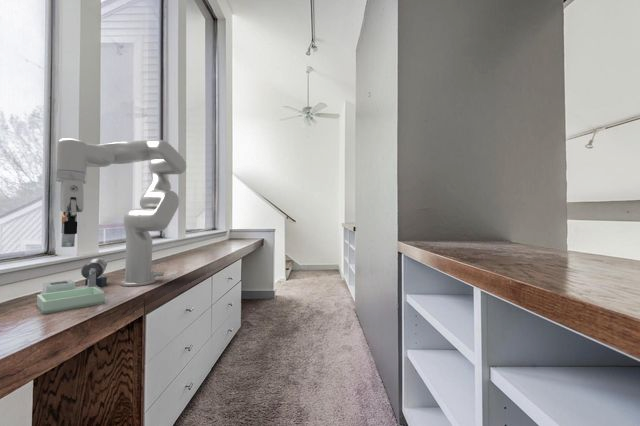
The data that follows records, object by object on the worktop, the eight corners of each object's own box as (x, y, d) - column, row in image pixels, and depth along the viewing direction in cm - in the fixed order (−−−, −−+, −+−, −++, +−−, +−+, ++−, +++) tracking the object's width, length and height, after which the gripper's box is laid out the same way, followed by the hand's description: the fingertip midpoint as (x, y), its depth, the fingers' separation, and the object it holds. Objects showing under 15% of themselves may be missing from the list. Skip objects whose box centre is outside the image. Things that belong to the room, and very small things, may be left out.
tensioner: (97, 289, 112) (98, 260, 112) (104, 293, 106) (105, 263, 106) (40, 297, 99) (41, 265, 99) (45, 302, 93) (46, 268, 94)
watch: (108, 283, 121) (109, 257, 122) (98, 288, 113) (99, 259, 114) (93, 284, 120) (94, 257, 120) (82, 288, 112) (83, 260, 112)
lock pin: (74, 246, 96) (76, 216, 96) (76, 246, 93) (78, 215, 94) (59, 246, 93) (61, 215, 94) (60, 247, 91) (62, 215, 91)
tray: (94, 296, 101) (95, 286, 101) (104, 303, 94) (104, 292, 94) (36, 306, 90) (37, 294, 90) (42, 314, 82) (43, 302, 82)
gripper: (91, 176, 91) (89, 234, 91) (81, 181, 102) (79, 232, 102) (59, 173, 86) (57, 235, 85) (52, 178, 97) (50, 233, 96)
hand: (69, 233), depth 94 cm, fingers closed on lock pin, 3 cm apart
